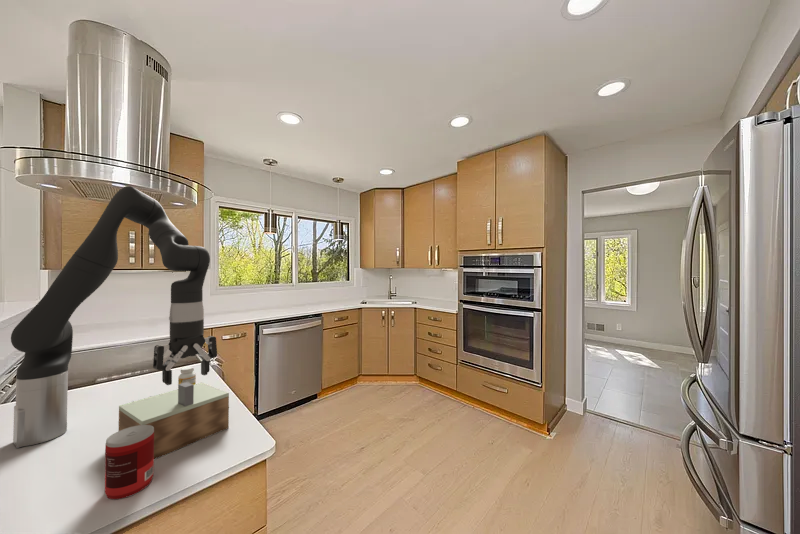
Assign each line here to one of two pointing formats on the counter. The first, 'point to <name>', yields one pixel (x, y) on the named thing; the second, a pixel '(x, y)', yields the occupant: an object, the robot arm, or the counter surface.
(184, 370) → the supplement bottle
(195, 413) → the storage box
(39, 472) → the counter surface
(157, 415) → the lid
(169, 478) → the counter surface
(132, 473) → the canned food
